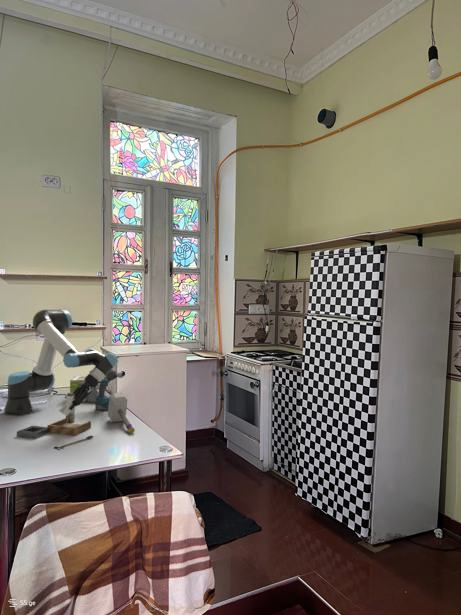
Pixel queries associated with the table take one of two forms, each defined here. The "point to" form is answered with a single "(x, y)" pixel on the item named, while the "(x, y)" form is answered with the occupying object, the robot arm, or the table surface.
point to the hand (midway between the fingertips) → (62, 413)
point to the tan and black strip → (73, 443)
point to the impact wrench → (101, 398)
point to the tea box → (77, 383)
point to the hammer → (119, 410)
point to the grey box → (93, 394)
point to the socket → (33, 432)
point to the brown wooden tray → (68, 427)
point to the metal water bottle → (71, 416)
